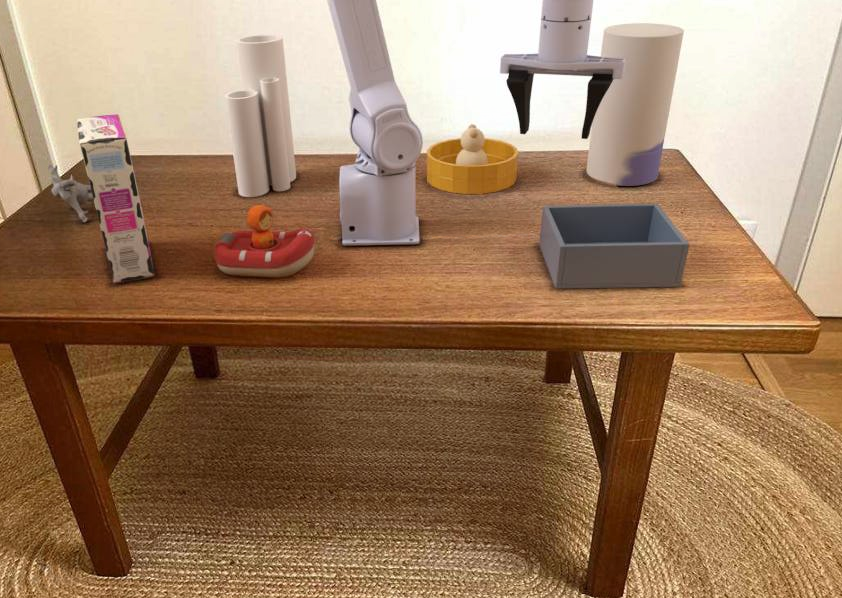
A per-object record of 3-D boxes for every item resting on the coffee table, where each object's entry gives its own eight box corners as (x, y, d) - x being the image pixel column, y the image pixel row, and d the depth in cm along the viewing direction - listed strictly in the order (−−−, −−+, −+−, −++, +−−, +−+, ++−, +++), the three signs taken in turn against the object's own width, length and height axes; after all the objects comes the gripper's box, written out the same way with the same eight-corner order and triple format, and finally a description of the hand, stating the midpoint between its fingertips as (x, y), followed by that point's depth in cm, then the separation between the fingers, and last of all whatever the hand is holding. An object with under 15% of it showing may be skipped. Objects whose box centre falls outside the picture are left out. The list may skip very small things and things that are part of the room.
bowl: (428, 198, 102) (428, 167, 99) (425, 167, 113) (425, 138, 110) (521, 196, 101) (524, 165, 98) (510, 165, 112) (511, 136, 109)
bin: (555, 288, 78) (560, 246, 75) (539, 244, 88) (542, 205, 85) (680, 286, 77) (689, 244, 75) (650, 242, 87) (657, 203, 84)
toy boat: (308, 283, 81) (302, 220, 77) (209, 279, 83) (198, 218, 79) (322, 254, 88) (317, 194, 84) (230, 251, 89) (221, 192, 85)
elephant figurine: (133, 207, 104) (83, 207, 96) (111, 234, 106) (60, 236, 98) (96, 153, 105) (44, 149, 97) (75, 181, 108) (23, 179, 100)
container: (593, 161, 112) (611, 20, 101) (661, 168, 108) (688, 23, 97) (579, 182, 105) (597, 33, 94) (652, 190, 101) (679, 36, 90)
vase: (261, 170, 115) (244, 34, 104) (304, 172, 113) (292, 34, 102) (233, 196, 105) (211, 50, 95) (279, 198, 104) (263, 50, 93)
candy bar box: (158, 277, 84) (127, 136, 75) (113, 285, 83) (77, 143, 74) (147, 240, 93) (119, 111, 84) (107, 247, 92) (74, 117, 83)
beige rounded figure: (456, 183, 105) (457, 132, 101) (454, 173, 108) (455, 122, 104) (488, 183, 104) (491, 131, 100) (485, 172, 108) (487, 121, 104)
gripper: (634, 13, 85) (617, 129, 93) (512, 11, 90) (505, 121, 98) (628, 24, 80) (610, 146, 87) (498, 21, 85) (492, 136, 92)
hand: (554, 134), depth 92 cm, fingers open, 7 cm apart
